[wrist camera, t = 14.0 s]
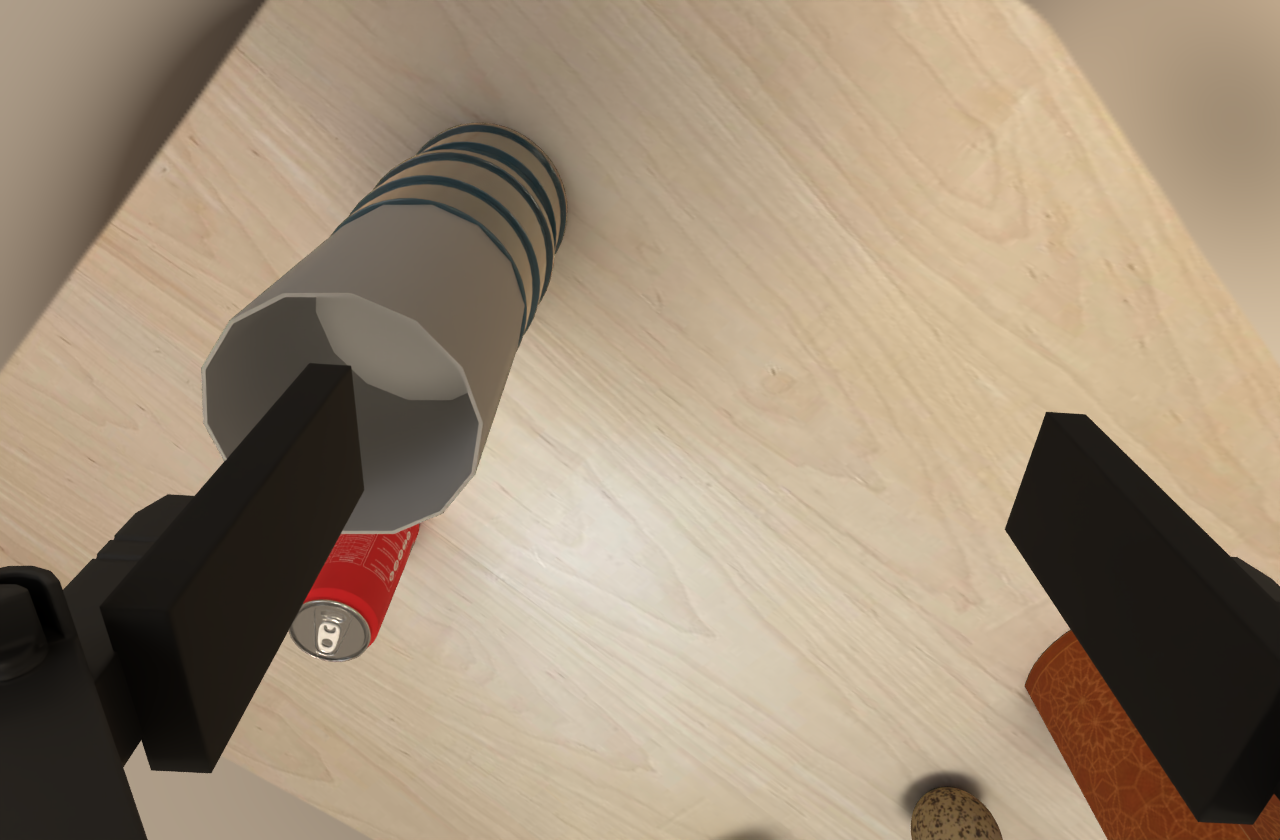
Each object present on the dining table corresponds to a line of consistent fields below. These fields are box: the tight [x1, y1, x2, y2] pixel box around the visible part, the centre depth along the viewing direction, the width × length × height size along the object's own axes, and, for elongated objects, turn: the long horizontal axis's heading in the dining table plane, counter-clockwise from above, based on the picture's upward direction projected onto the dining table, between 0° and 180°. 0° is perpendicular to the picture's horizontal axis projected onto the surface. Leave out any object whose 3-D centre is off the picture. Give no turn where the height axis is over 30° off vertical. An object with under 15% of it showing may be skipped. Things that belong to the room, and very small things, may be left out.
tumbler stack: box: [331, 123, 567, 352], centre depth 40 cm, size 9×9×16 cm
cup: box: [201, 205, 525, 534], centre depth 29 cm, size 8×8×10 cm
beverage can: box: [289, 524, 419, 662], centre depth 52 cm, size 5×5×12 cm
